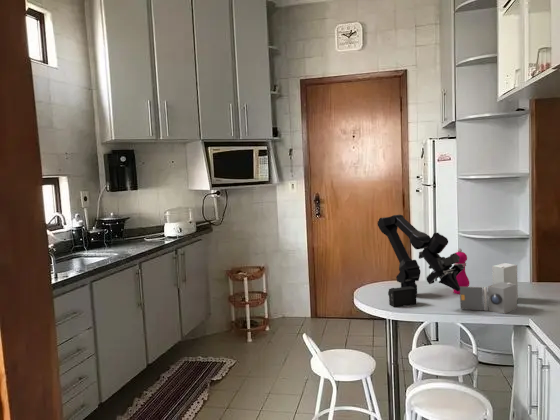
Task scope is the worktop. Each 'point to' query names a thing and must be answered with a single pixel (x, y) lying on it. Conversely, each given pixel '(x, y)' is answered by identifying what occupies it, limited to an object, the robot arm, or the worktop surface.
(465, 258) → the pepper mill
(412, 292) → the digital camera
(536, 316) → the worktop surface
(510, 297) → the camera housing
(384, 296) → the worktop surface
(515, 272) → the skincare box
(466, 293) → the side door
